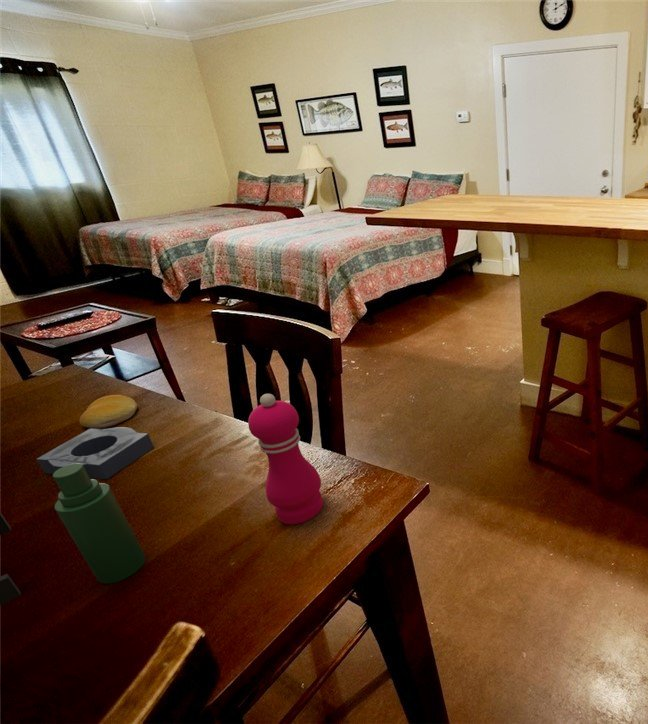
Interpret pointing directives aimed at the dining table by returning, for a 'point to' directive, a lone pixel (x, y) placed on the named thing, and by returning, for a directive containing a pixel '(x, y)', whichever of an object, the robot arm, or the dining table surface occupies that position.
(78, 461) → the hole board
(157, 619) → the dining table surface
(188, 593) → the dining table surface
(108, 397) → the bread roll
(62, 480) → the bottle
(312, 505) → the pepper mill
